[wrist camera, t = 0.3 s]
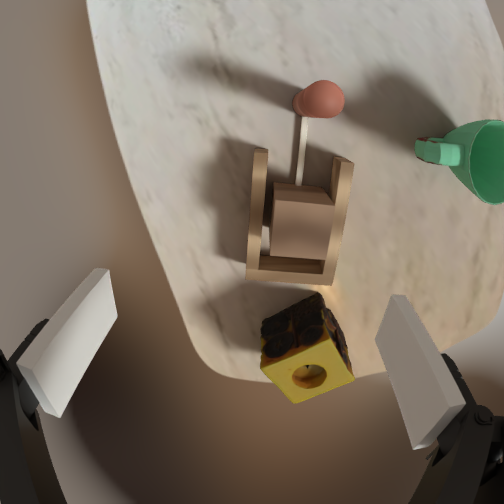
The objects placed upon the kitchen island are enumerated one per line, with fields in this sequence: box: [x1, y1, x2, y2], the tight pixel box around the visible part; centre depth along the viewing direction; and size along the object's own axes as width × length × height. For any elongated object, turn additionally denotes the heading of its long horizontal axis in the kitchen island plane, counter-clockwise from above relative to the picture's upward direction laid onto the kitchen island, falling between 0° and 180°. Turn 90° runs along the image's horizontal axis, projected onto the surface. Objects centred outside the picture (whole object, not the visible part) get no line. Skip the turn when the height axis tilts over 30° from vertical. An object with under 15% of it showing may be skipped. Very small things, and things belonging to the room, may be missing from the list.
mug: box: [415, 120, 504, 205], centre depth 28 cm, size 15×10×10 cm
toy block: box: [260, 293, 355, 403], centre depth 42 cm, size 10×10×10 cm
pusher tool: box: [269, 80, 345, 260], centre depth 30 cm, size 18×6×12 cm, turn 176°
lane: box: [245, 148, 354, 286], centre depth 36 cm, size 16×11×4 cm
